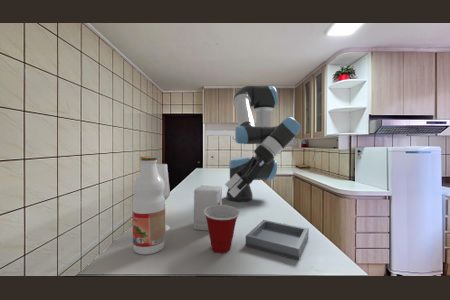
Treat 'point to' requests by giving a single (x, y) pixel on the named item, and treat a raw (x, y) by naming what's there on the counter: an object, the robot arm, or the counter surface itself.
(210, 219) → the plastic cup
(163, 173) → the champagne flute
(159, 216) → the fruit juice
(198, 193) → the supplement box
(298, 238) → the tray
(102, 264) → the counter surface
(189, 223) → the counter surface
